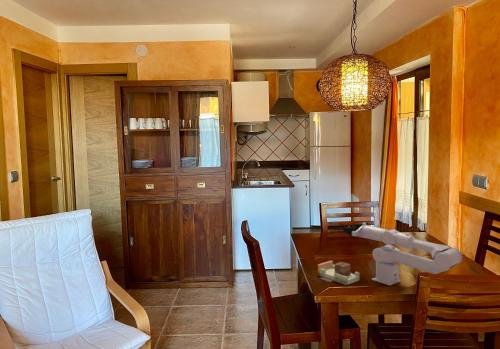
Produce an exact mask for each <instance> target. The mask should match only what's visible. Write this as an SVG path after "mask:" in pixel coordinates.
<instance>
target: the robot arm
mask: <svg viewBox="0 0 500 349" xmlns="http://www.w3.org/2000/svg"><path fill="white" fill-rule="evenodd" d="M342 230H343V233H345V234H347V235H349V236H350V237H351V238H352V239H356V238H357V237H359V238H363V239H369V240H374V241H377V242H378V241H379V242H383V243H384V244H385V245H383V246H380V247H376V248H374V249H373V251H372V258H373V259H374V260H375V277H372V278H371V281H374V282H378V283H381V284H384V285H387V286H392V285H395V284H397V283H400V282H401V280H400V267H399V265H403V266H407V267H409V268H413V269H416V270H419V271H423V272H427V273H429V274H432V275H437V274H440V273H442V272H446V271H448V270H450V269H452V268H454V267H457V266H458V265H459V264H460V263H461V262H462V260H463V255H462V252H461V251H460V250H459V249H458V248H456V247H455V248H454V247H450V246H448V245H444V244H440V243H433V242H429V241H425V240H420V239H416V238H415V236H414V235H411V233H408V232H407V233H403V232H400V231H399V230H396V228H392V229H386V228H385V229H384V228H382V227H377V226H376V227H375V226H374V225H369V222H362V223H353V225H352V226H343V227H342ZM394 245H395V246H398V247H401V248H404V249H408V250H411V249H414V248H415V249H418V250H420V251H424V252H427V253H429V254H430V256H431V257H432V259H430V258H427V257H423V256H419V255H416V254H412V253H408V252H405V251H401V250H400V249H399V248H396V247H395V246H394ZM398 264H399V265H398Z"/></svg>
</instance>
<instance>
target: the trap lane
mask: <svg viewBox="0 0 500 349" xmlns="http://www.w3.org/2000/svg"><path fill="white" fill-rule="evenodd" d="M317 273H318V274H317V276H320V277H321V278H322V277H326V278H328V279H331V280H334V281H333V282H336V283H339V284H342V285H344V286H347V285H350V284H353V283H356V282H359V281H360V280H361V276H360V272H359V271H355V272H354V273H352V272H351V275H349V276H343V275H340V274H337V273H335V264H334V260H328V261H326V262H321V263H319V264H317Z"/></svg>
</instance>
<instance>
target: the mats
mask: <svg viewBox="0 0 500 349" xmlns="http://www.w3.org/2000/svg"><path fill="white" fill-rule="evenodd" d="M319 280H322V281H325V282H327V283H332V282H335V281H334V280H331V279H328V278H326V277H322V276H321V277H320V278H319Z"/></svg>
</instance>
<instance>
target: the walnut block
mask: <svg viewBox="0 0 500 349" xmlns="http://www.w3.org/2000/svg"><path fill="white" fill-rule="evenodd" d="M334 265H335V273H337V274H340V275H343V276H349V275H351V273H352V271H351V264H350V263H347V262H344V261H339V262H336V263H334Z"/></svg>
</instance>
